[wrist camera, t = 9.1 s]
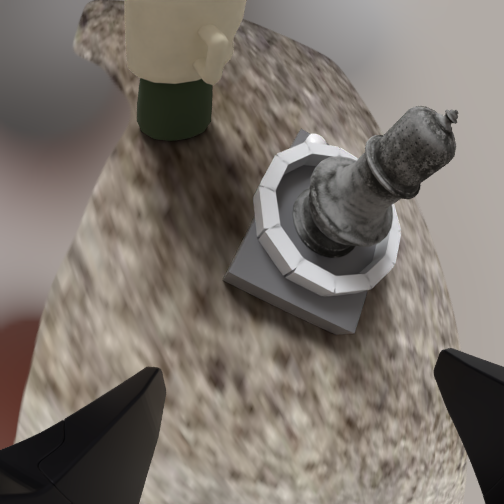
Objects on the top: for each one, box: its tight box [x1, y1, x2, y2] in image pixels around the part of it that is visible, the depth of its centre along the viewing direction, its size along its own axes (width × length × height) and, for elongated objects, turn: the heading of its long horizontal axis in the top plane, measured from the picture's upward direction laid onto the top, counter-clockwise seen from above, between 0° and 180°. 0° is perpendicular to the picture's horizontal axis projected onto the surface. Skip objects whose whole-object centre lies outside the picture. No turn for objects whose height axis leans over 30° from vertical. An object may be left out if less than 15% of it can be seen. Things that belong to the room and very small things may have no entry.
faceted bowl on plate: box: [223, 129, 401, 335], centre depth 19 cm, size 13×10×4 cm
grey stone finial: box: [292, 106, 458, 258], centre depth 13 cm, size 6×6×12 cm
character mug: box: [125, 0, 247, 141], centre depth 15 cm, size 11×7×13 cm, turn 31°
